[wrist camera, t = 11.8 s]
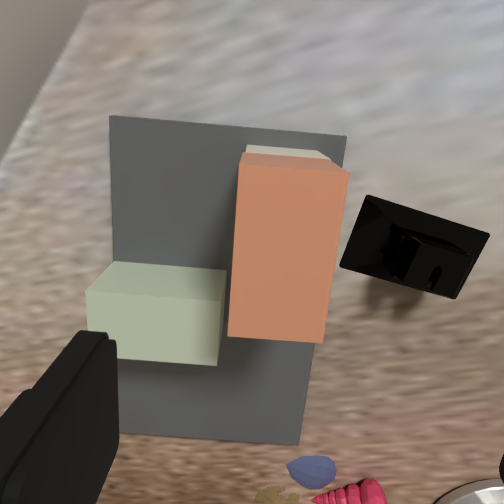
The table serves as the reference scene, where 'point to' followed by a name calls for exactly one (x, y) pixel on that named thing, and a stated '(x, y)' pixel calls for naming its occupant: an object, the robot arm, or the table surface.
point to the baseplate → (210, 257)
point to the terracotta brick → (285, 246)
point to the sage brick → (159, 311)
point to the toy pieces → (323, 485)
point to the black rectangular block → (412, 248)
